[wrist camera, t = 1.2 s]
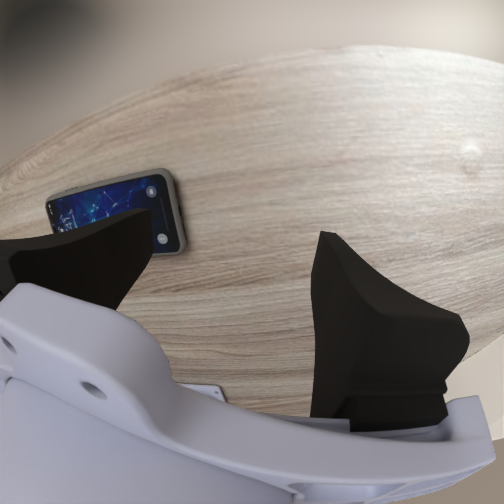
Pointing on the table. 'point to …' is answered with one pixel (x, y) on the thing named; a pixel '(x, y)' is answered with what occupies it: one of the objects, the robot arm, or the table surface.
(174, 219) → the smartphone
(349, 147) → the table surface
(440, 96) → the table surface
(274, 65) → the table surface
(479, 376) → the block
